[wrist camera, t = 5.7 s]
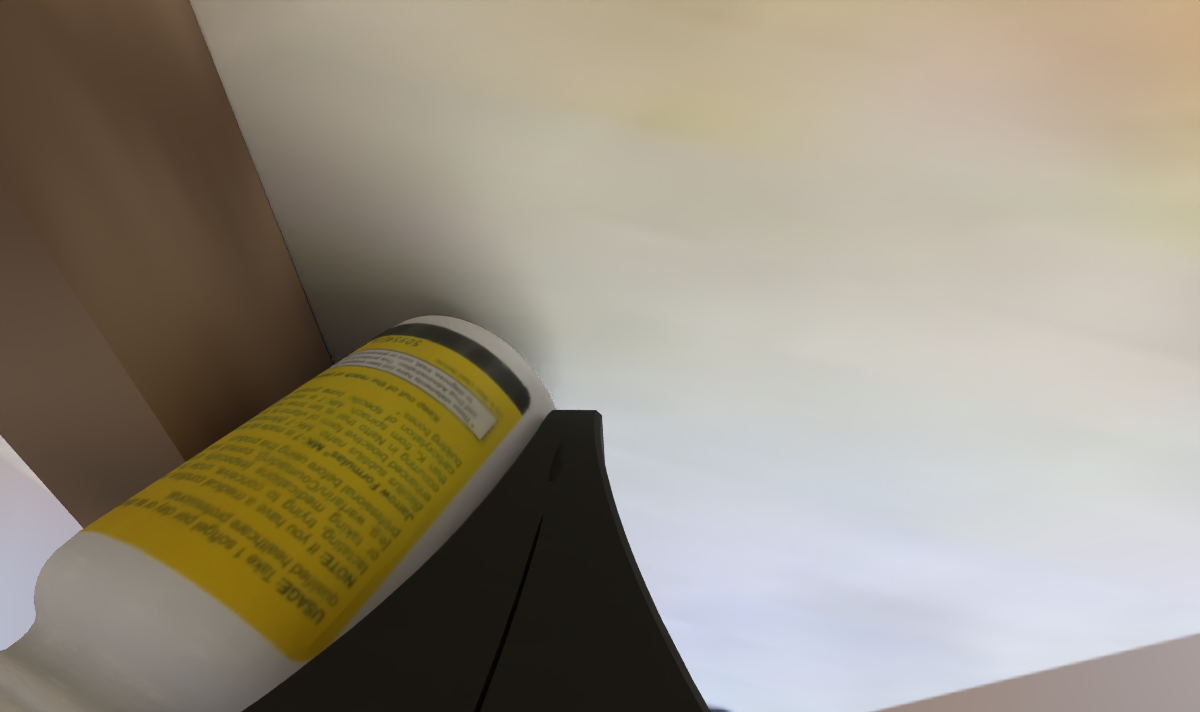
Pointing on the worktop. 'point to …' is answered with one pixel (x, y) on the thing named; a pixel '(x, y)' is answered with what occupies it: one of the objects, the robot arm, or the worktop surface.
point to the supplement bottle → (278, 530)
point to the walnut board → (132, 252)
